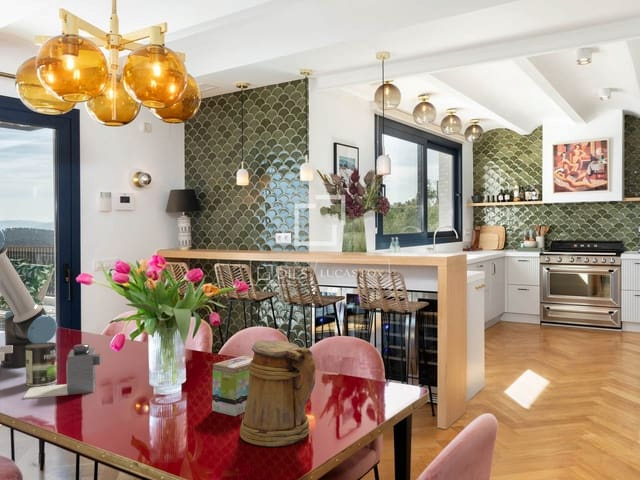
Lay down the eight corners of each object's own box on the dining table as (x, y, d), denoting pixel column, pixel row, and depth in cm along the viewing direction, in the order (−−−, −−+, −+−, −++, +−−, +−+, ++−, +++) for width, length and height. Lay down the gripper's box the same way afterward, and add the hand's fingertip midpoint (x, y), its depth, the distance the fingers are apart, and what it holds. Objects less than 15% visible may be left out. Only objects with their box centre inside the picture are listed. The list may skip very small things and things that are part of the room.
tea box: (236, 417, 160) (236, 367, 160) (211, 411, 165) (211, 363, 165) (267, 403, 173) (267, 357, 172) (243, 398, 178) (242, 354, 178)
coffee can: (63, 379, 203) (62, 342, 203) (44, 387, 193) (43, 348, 193) (39, 378, 205) (38, 341, 205) (19, 385, 195) (18, 347, 195)
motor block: (70, 385, 195) (69, 343, 195) (101, 382, 198) (100, 341, 198) (66, 394, 184) (65, 349, 183) (99, 391, 187) (98, 347, 187)
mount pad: (30, 389, 191) (30, 387, 191) (71, 385, 195) (71, 383, 195) (23, 399, 179) (23, 397, 179) (67, 394, 184) (67, 392, 184)
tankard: (270, 418, 158) (269, 334, 158) (336, 435, 145) (335, 342, 145) (226, 437, 144) (225, 345, 143) (296, 458, 130) (294, 355, 130)
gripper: (-49, 359, 200) (15, 356, 207) (-74, 375, 176) (0, 370, 183) (-49, 339, 200) (15, 336, 207) (-74, 353, 176) (0, 348, 183)
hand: (8, 352), depth 195 cm, fingers open, 13 cm apart
